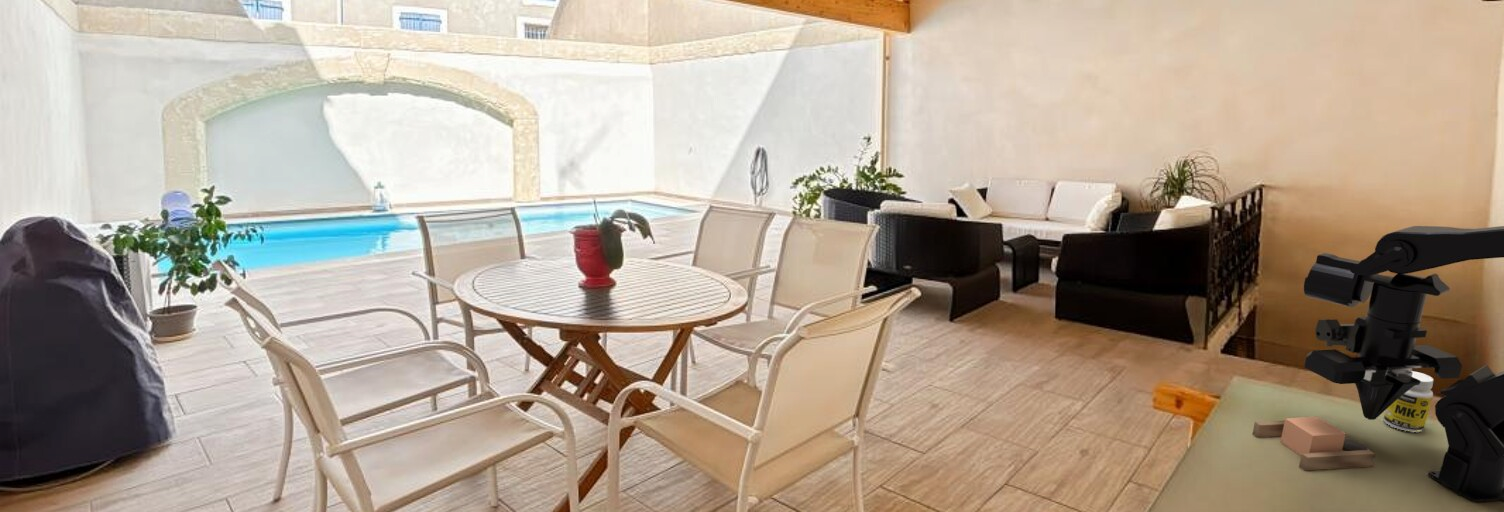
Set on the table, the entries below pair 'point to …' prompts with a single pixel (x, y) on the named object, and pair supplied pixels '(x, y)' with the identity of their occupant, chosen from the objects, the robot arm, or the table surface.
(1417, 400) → the supplement bottle
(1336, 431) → the terracotta block
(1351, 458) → the channel
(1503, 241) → the robot arm
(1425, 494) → the table surface
